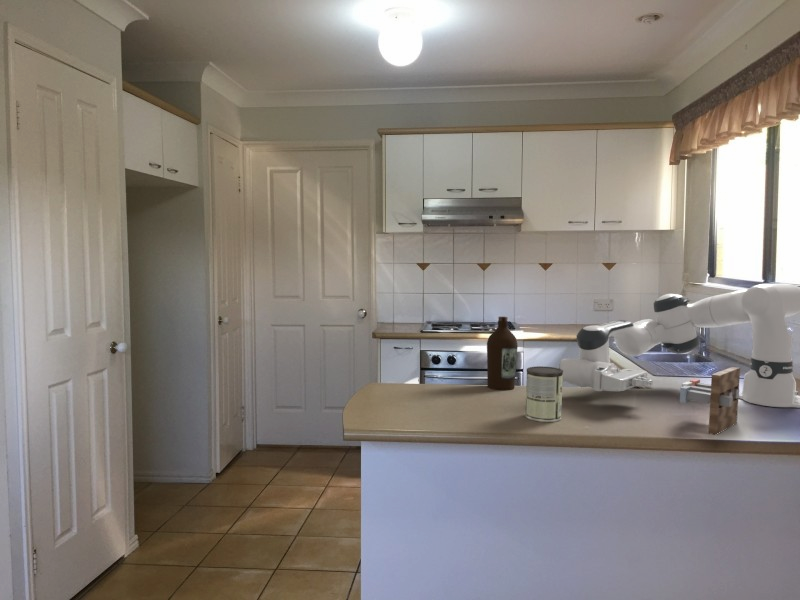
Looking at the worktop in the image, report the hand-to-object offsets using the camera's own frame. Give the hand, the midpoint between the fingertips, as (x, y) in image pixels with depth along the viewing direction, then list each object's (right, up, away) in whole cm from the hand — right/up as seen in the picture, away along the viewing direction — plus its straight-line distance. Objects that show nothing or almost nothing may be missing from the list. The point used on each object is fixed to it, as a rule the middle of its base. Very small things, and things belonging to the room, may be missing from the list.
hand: (650, 383), depth 191 cm
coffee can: (-34, -9, -7) cm, 36 cm away
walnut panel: (+14, -10, -15) cm, 23 cm away
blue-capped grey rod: (+8, -3, -18) cm, 20 cm away
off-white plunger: (+11, -3, -12) cm, 17 cm away
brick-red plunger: (+15, -3, -8) cm, 17 cm away
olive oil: (-40, -6, +32) cm, 52 cm away
